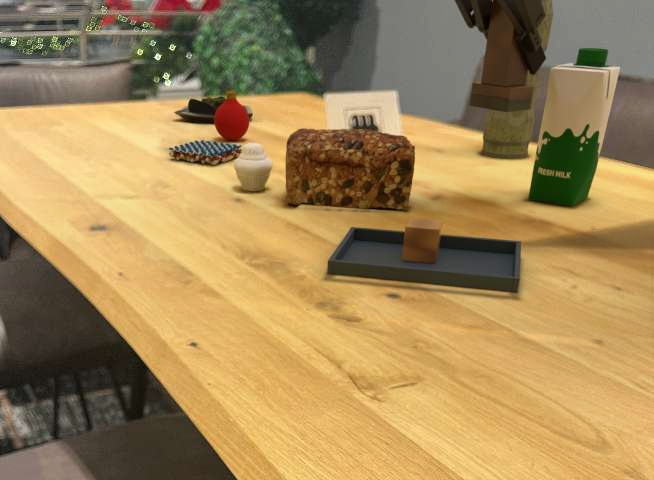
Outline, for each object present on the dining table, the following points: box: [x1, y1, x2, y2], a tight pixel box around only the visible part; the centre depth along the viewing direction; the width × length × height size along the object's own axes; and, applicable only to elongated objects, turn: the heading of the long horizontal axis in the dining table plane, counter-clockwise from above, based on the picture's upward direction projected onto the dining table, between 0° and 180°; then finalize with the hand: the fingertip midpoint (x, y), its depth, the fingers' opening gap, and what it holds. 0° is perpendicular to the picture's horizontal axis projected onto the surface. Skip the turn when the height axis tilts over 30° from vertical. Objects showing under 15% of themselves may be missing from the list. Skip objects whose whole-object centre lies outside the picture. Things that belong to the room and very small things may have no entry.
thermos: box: [480, 0, 554, 160], centre depth 136 cm, size 9×12×35 cm
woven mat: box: [168, 139, 243, 166], centre depth 140 cm, size 10×11×2 cm
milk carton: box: [527, 47, 621, 207], centre depth 113 cm, size 9×9×20 cm
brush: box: [469, 0, 534, 112], centre depth 105 cm, size 7×5×13 cm
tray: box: [326, 226, 522, 294], centre depth 91 cm, size 21×14×2 cm
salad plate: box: [173, 95, 254, 125], centre depth 177 cm, size 19×18×5 cm
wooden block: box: [402, 217, 444, 264], centre depth 91 cm, size 4×4×4 cm
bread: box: [285, 127, 416, 210], centre depth 114 cm, size 19×11×10 cm, turn 84°
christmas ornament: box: [213, 84, 250, 141], centre depth 153 cm, size 7×7×10 cm
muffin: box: [233, 141, 273, 192], centre depth 120 cm, size 6×6×7 cm
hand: (523, 64), depth 108 cm, fingers closed on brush, 4 cm apart
